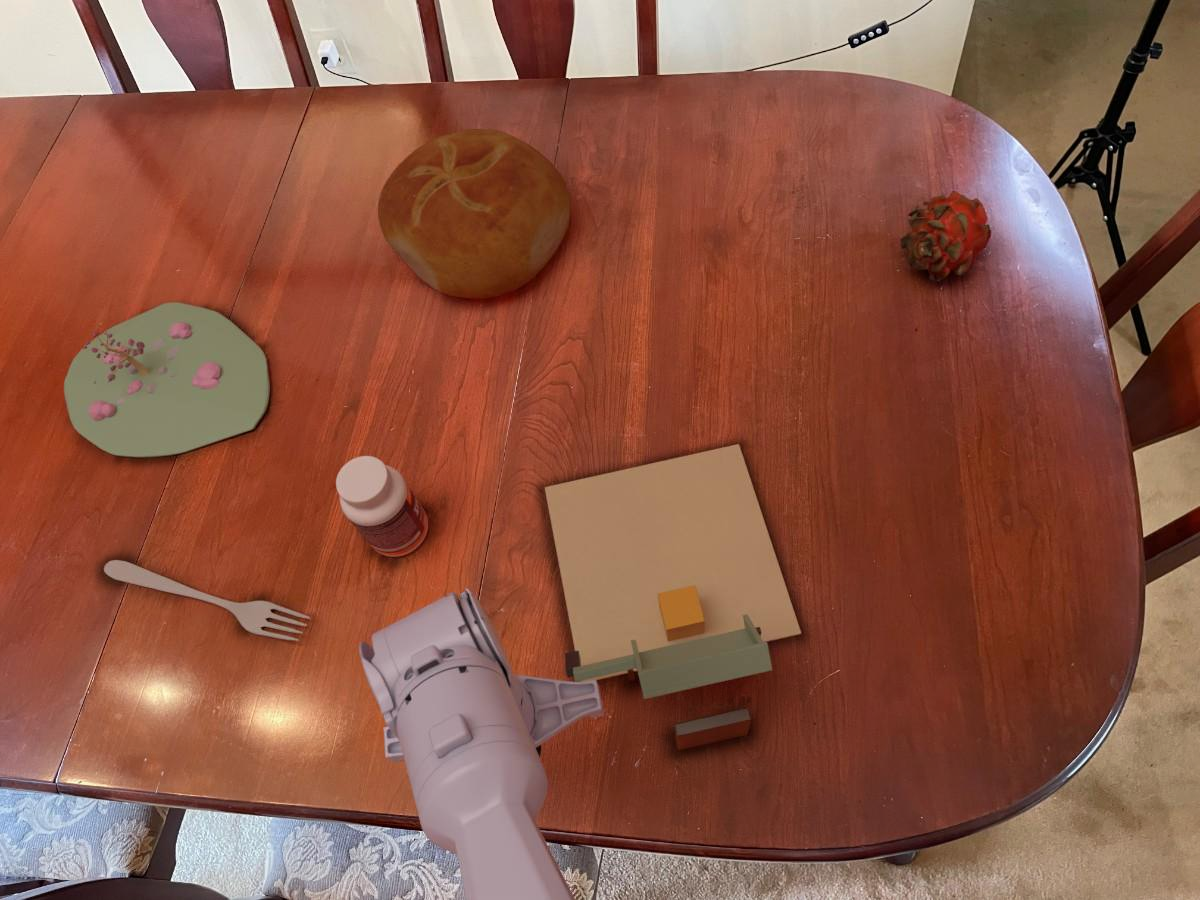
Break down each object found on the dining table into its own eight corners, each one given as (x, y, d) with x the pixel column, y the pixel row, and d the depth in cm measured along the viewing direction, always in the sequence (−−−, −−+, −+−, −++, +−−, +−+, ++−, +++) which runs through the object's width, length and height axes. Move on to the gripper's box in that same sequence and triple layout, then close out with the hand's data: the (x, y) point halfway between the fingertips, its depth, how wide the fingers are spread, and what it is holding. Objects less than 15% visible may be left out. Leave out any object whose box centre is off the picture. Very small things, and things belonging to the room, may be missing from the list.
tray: (773, 672, 63) (767, 643, 62) (569, 718, 63) (562, 689, 62) (744, 621, 72) (739, 595, 72) (566, 661, 72) (560, 636, 72)
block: (705, 621, 73) (695, 584, 75) (666, 629, 73) (657, 593, 75) (704, 633, 76) (695, 597, 78) (667, 641, 76) (658, 606, 78)
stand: (779, 727, 72) (785, 711, 66) (646, 757, 71) (642, 744, 66) (755, 647, 75) (759, 626, 70) (628, 676, 75) (623, 657, 70)
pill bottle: (442, 528, 84) (410, 477, 74) (393, 571, 82) (354, 524, 73) (404, 490, 86) (368, 435, 77) (356, 531, 85) (313, 480, 75)
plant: (308, 317, 99) (275, 265, 91) (242, 472, 90) (198, 428, 82) (120, 301, 104) (73, 250, 96) (37, 447, 94) (-23, 403, 86)
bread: (365, 305, 99) (333, 246, 91) (417, 164, 110) (393, 99, 102) (554, 318, 96) (540, 257, 87) (588, 171, 107) (579, 104, 98)
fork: (114, 551, 86) (104, 544, 85) (319, 619, 80) (312, 612, 79) (96, 579, 85) (85, 573, 83) (303, 650, 79) (295, 645, 77)
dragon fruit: (911, 308, 93) (936, 243, 100) (990, 291, 87) (1012, 224, 94) (880, 246, 89) (909, 183, 96) (961, 224, 83) (986, 158, 90)
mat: (801, 634, 75) (801, 633, 75) (581, 684, 75) (581, 683, 75) (738, 445, 85) (738, 443, 85) (544, 488, 85) (544, 487, 85)
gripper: (580, 615, 54) (600, 671, 66) (357, 665, 54) (418, 712, 66) (601, 726, 51) (619, 765, 62) (363, 780, 50) (426, 808, 62)
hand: (517, 744), depth 64 cm, fingers closed
